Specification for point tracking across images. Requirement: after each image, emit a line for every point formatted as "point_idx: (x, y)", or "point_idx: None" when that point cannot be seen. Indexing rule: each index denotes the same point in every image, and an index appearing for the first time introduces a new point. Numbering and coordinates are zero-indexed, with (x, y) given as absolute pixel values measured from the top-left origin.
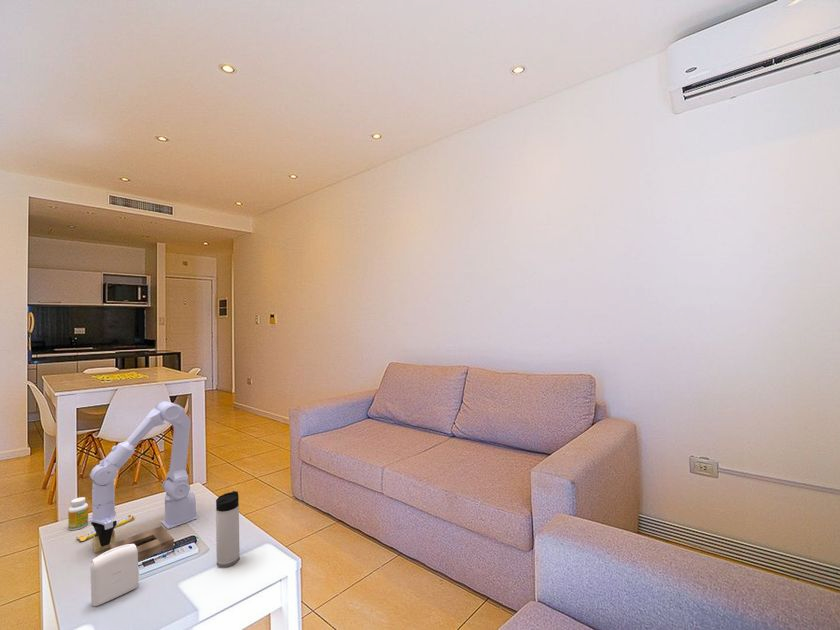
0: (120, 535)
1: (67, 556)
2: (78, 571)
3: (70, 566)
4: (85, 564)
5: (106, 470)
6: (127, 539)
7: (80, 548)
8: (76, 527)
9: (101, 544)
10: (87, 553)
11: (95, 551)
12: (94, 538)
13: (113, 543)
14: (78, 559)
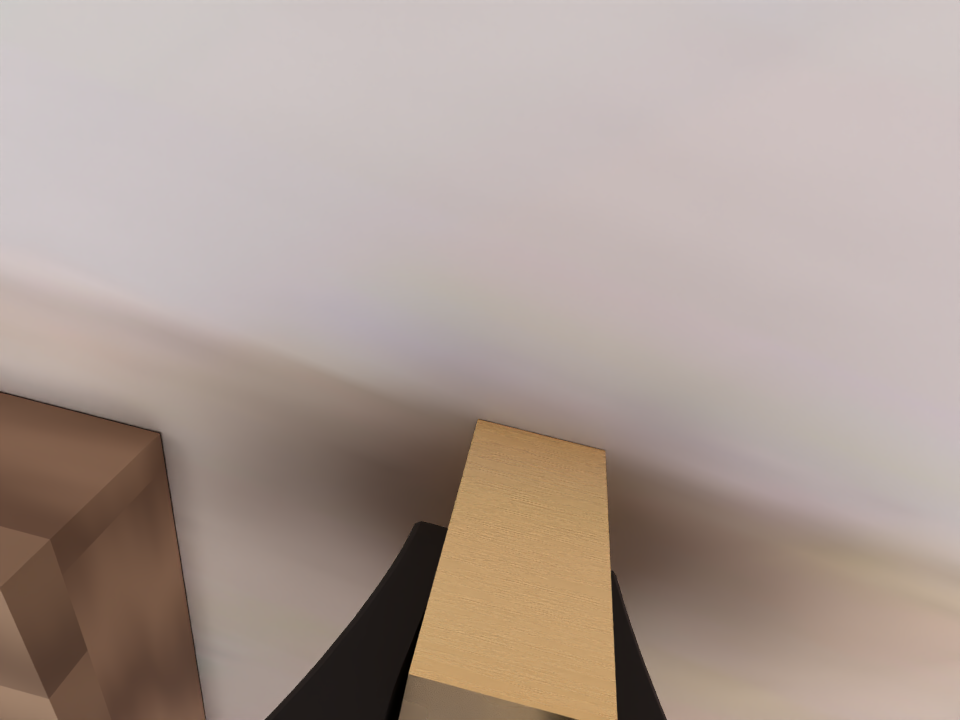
0: None
1: (892, 146)
2: (25, 21)
3: (352, 4)
4: (207, 194)
5: None
6: (15, 707)
7: (920, 398)
8: None
9: (401, 553)
10: (583, 367)
11: (473, 435)
12: (486, 636)
13: (6, 616)
14: (509, 208)
